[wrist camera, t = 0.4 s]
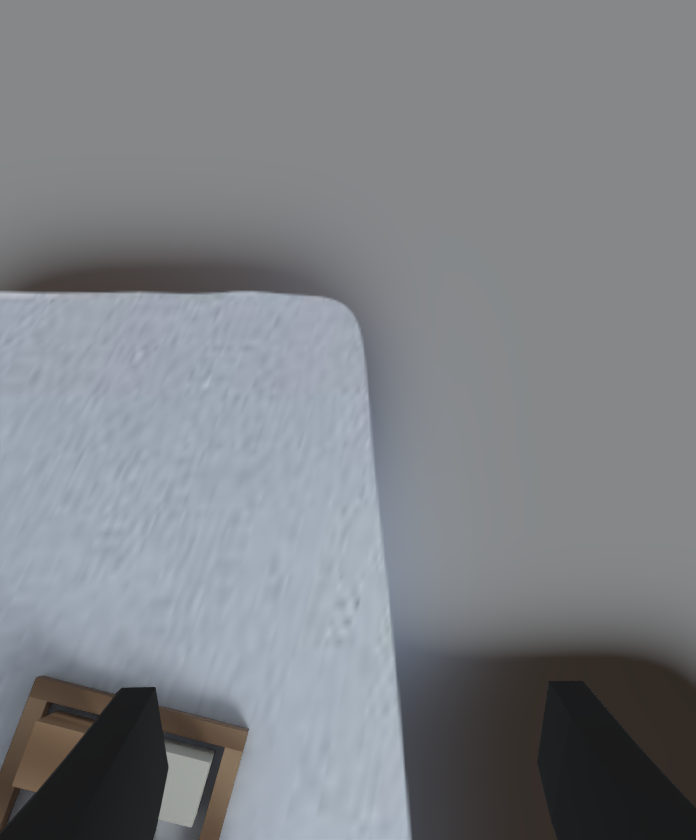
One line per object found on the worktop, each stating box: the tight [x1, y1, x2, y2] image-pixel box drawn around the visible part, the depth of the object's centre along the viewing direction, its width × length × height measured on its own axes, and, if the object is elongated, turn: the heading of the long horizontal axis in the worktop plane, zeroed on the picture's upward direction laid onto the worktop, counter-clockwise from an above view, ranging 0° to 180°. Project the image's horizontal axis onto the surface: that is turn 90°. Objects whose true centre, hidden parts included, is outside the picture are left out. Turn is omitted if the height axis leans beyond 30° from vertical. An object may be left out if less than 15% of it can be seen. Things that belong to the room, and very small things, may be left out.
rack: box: [0, 676, 249, 840], centre depth 33 cm, size 12×12×1 cm
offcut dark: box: [12, 711, 95, 792], centre depth 33 cm, size 3×3×4 cm
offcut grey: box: [158, 738, 215, 828], centre depth 33 cm, size 3×3×3 cm
